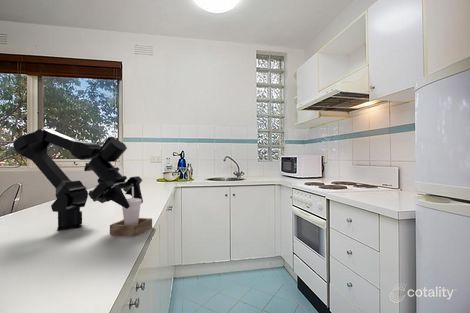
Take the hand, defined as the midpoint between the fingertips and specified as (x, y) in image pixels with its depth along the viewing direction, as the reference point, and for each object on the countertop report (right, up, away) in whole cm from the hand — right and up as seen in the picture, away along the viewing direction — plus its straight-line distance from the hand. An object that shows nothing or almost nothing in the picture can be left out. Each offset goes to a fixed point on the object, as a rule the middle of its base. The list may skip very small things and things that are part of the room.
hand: (135, 205), depth 77 cm
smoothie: (-1, -8, 0) cm, 8 cm away
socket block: (-1, -8, 0) cm, 9 cm away
